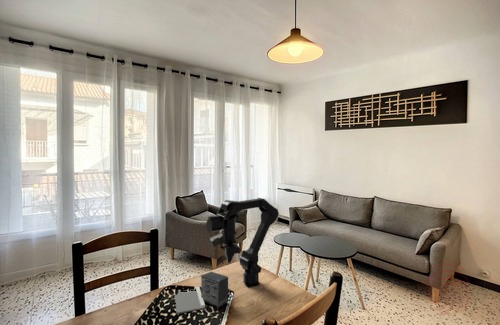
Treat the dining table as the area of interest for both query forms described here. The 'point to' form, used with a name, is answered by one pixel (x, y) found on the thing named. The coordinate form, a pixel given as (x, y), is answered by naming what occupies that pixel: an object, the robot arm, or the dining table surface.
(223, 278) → the small box
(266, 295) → the dining table surface
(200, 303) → the mat
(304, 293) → the dining table surface
